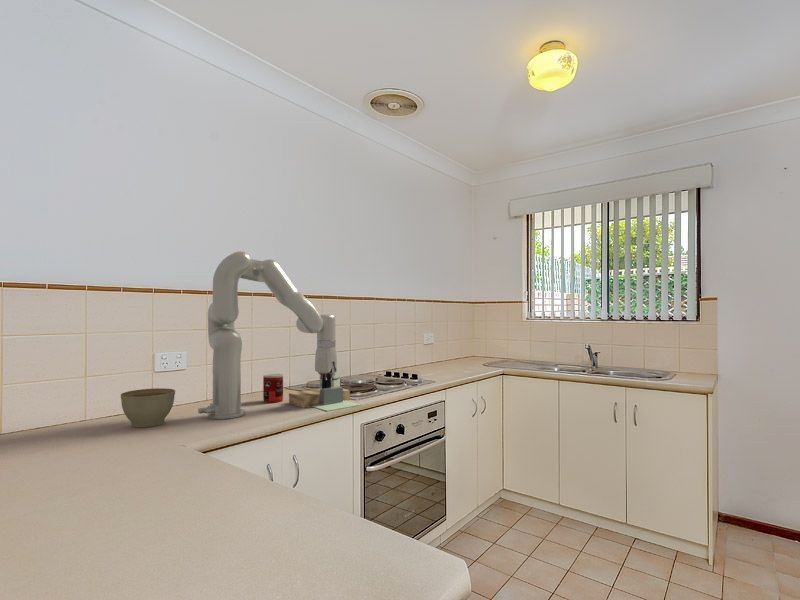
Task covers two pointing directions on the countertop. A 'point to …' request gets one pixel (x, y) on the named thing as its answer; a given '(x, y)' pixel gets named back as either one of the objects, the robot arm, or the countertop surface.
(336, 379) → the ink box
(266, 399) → the canned food
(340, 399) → the gray rectangular block
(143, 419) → the planter bowl
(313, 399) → the oak block
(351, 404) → the sage mat
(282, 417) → the countertop surface
